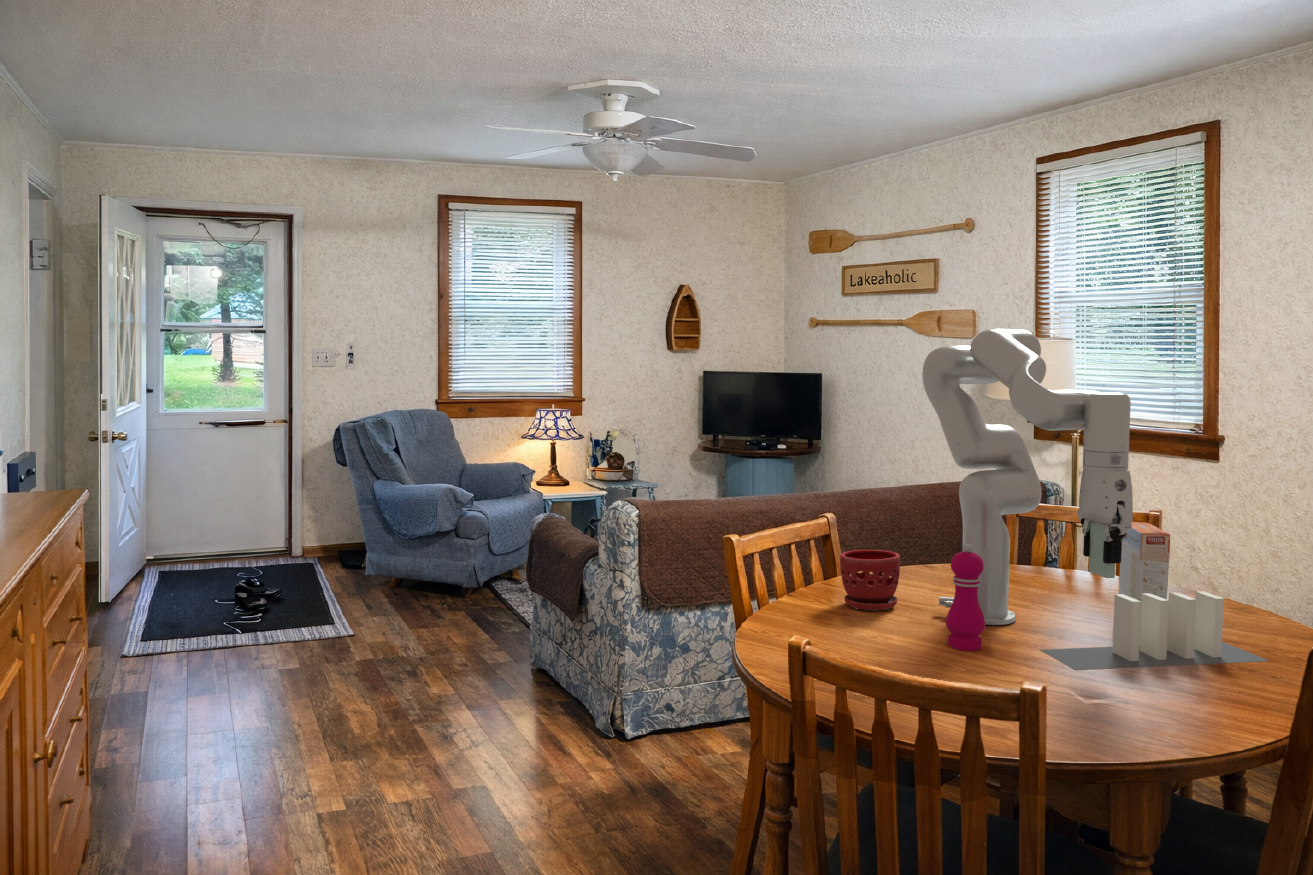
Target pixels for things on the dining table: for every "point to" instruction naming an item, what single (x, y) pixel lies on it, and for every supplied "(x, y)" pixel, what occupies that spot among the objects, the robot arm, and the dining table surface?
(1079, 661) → the domino mat
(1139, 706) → the dining table surface
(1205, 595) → the domino
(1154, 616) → the domino
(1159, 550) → the cracker box
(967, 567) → the pepper mill
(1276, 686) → the dining table surface
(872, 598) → the plant pot
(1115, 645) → the domino
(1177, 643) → the domino
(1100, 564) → the sage domino
